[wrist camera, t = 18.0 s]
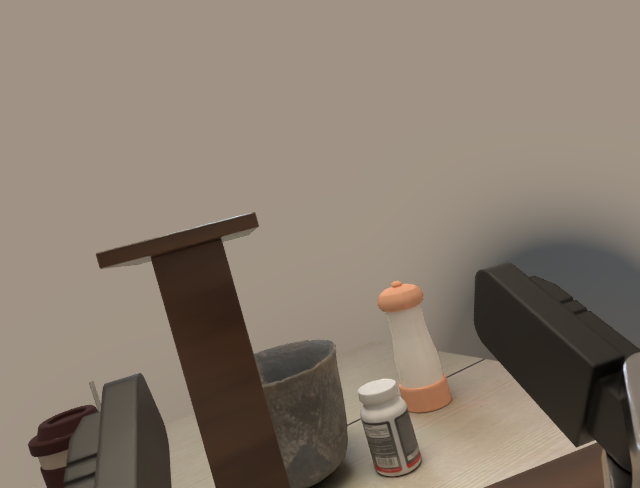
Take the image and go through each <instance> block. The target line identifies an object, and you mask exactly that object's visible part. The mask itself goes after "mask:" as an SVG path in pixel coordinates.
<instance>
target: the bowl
mask: <svg viewBox="0 0 640 488" xmlns="http://www.w3.org/2000/svg"><path fill="white" fill-rule="evenodd" d="M254 358H255V361H256V365H257V368H258V372H259V375H260V379H261V383H262V386H263V390H264V393H265V397H266V401H267V404H268V408H269V411H270V415H271V419H272V422H273V426H274V429H275V433H276V436H277V440H278V444H279V447H280V451H281V454H282V458H283V462H284V465H285V469H286V472H287V476H288V479H289V483H290V487H291V488H308V487H310V486H312V485H315V484H317V483H319V482H320V481H321V480H323V479H324V478H326V477H327V476H328V475H330V474H331V473H332V472H333V471H334V470H335V469H336V468H337V467H338V466H339V465H340V464H341V462H342V460H343V459H344V457H345V455H346V450H347V445H348V435H347V421H346V412H345V405H344V399H343V392H342V388H341V382H340V377H339V372H338V367H337V360H336V345H335V344H334V343H333V342H331V341H328V340H312V341H301V342H295V343H290V344H285V345H281V346H277V347H274V348H271V349H267V350H264V351H261V352H258V353H255V354H254Z"/></svg>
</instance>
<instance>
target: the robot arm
mask: <svg viewBox="0 0 640 488" xmlns="http://www.w3.org/2000/svg"><path fill="white" fill-rule="evenodd" d="M474 325H475V329H476V331H477V334H478V336H479V338H480V340H481V341H482V343H483V344H484V345H485V346H486V347H487V348H488V350H489V351H490V352H491V353H492V354H493V355H494V356H495V358H496V359H497V360H498V361H499V362H500V363H501V364H502V365H503V366H504V368H505V369H506V370H507V371H508V372H509V373H510V374H511V375H512V376H513V378H514V379H515V380H516V381H517V382H518V383H519V384H520V385H521V386H522V388H523V389H524V390H525V391H526V392H527V393H528V394H529V395H530V396H531V398H532V399H533V400H534V401H535V402H536V403H537V404H538V405H539V406H540V408H541V409H542V410H543V411H544V412H545V413H546V414H547V415H548V416H549V418H550V419H551V420H552V421H553V422H554V423H555V424H556V425H557V426H558V428H559V429H560V430H561V431H562V432H563V433H564V434H565V435H566V437H567V438H568V439H569V440H570V441H571V442H572V443H573V444H574V445H575V447H579V446H581V445H584V444H586V443H589V442H591V441H594V440H596V441H597V442H598V443H599V444H600V445H601V446H602V447H603V451H602V455H601V460H602V469H603V478H604V486H605V488H640V349H639V348H637V347H636V346H635V345H633V344H632V343H631V342H630V341H628V340H627V339H626V338H624V337H623V336H622V335H621V334H619V333H618V332H617V331H615V330H614V329H613V328H612V327H610V326H609V325H608V324H606V323H605V322H604V321H602V320H601V319H600V318H599V317H597V316H596V315H595V314H593V313H592V312H591V311H587V309H586V307H584V306H583V305H582V304H581V303H579V302H578V301H577V300H575V301H574V300H573V297H572V296H570V295H569V294H568V293H566V292H565V291H564V290H562V289H561V288H560V287H558V286H557V285H556V284H554V283H551V282H549V281H546V280H544V279H541V278H539V277H536V276H531V277H528V276H527V275H526V274H524V273H523V272H522V271H520V270H519V269H518V268H517V267H516V266H515V265H513V264H512V263H509V262H505V263H502V264H498V265H496V266H492V267H489V268H486V269H482V270H479V271H478V272H477V274H476V276H475V298H474ZM66 464H67V468H65V475H64V482H63V484H64V488H171V472H170V454H169V443H168V437H167V433H166V429H165V425H164V422H163V420H162V418H161V415H160V413H159V411H158V408H157V406H156V404H155V401H154V399H153V397H152V395H151V392H150V390H149V388H148V386H147V383H146V381H145V379H144V377H143V375H142V374H141V373H139V374H135V375H132V376H129V377H126V378H122V379H119V380H116V381H113V382H109V383H106V384H104V386H103V392H102V403H101V411H99V412H96V413H93V414H90V415H87V416H84V417H83V418H82V420H81V421H80V423H79V425H78V427H77V428H76V430H75V432H74V433H73V435H72V437H71V439H70V441H69V448H68V455H67V461H66Z"/></svg>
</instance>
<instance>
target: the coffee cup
mask: <svg viewBox="0 0 640 488" xmlns="http://www.w3.org/2000/svg"><path fill="white" fill-rule="evenodd" d="M96 412H98V410H97V409H96V407H95V406H93V405H85V406H81V407H77V408H74V409H71V410H68V411H65V412H62V413H60V414H58V415H55V416H53V417H52V418H49V419H48V420H46V421H44V422H43V423H41V424H40V425H39V427H38V433H37V436H35V437H34V438H33V439H32V440H31V441H30V442H29V444H28V446H29V450H30V453H31V455H32V456H34V457H38V459H39V461H40V464H41V473H42V475H43V478H44V481H45V483H46V486H47V488H64V484H63V482H64V475H65V468H67V464H66V461H67V455H68V448H69V441H70V439H71V437H72V435H73V433H74V432H75V430H76V428H77V427H78V425H79V423H80V421H81V420H82V418H83V417H84V416H87V415H90V414H93V413H96Z"/></svg>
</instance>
